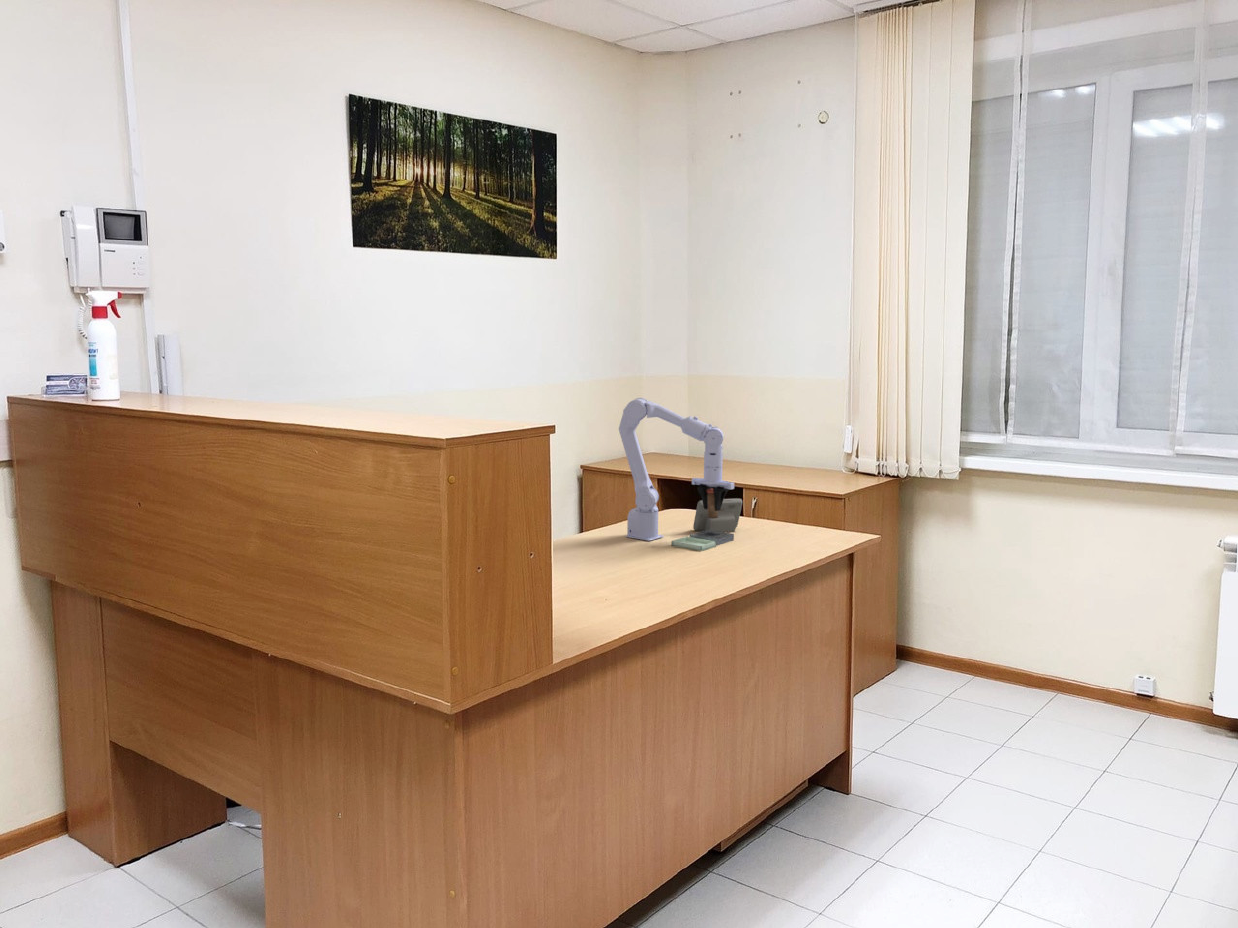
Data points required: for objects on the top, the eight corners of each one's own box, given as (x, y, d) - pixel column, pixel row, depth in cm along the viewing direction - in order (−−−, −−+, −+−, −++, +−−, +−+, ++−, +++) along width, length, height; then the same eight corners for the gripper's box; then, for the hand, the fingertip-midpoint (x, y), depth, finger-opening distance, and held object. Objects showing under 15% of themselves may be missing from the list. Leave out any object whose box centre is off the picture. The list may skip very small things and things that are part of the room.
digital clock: (738, 527, 331) (738, 496, 330) (745, 533, 322) (746, 500, 321) (690, 528, 329) (691, 496, 327) (696, 534, 320) (697, 501, 318)
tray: (671, 545, 303) (671, 540, 303) (686, 541, 309) (686, 536, 309) (701, 551, 296) (701, 546, 296) (715, 546, 302) (716, 541, 302)
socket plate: (689, 541, 310) (689, 534, 309) (707, 535, 317) (707, 529, 317) (716, 545, 303) (716, 539, 303) (733, 540, 311) (733, 534, 311)
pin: (704, 517, 309) (704, 489, 308) (710, 516, 312) (710, 488, 311) (714, 519, 307) (714, 491, 305) (721, 517, 310) (721, 489, 308)
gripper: (686, 465, 308) (685, 508, 310) (726, 470, 299) (725, 514, 301) (699, 463, 314) (698, 505, 316) (738, 467, 305) (737, 511, 307)
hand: (712, 509), depth 309 cm, fingers closed on pin, 3 cm apart
